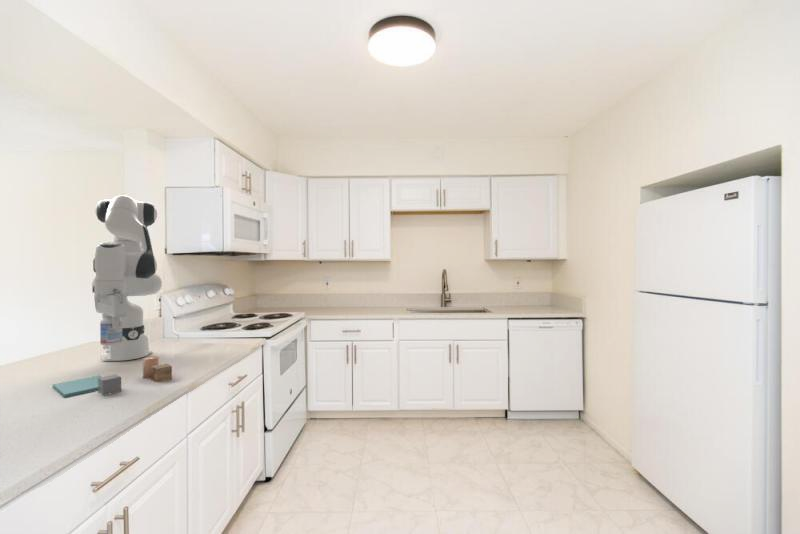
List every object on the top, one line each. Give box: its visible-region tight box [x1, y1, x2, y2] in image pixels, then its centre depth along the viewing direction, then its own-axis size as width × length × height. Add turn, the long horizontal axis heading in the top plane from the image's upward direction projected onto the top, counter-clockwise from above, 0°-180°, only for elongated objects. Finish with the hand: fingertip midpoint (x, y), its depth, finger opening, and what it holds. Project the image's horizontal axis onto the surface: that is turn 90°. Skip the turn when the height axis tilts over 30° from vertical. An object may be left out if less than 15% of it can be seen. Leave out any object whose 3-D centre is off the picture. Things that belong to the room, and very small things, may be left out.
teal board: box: [52, 374, 103, 398], centre depth 128 cm, size 16×13×1 cm
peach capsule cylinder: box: [142, 356, 160, 379], centre depth 140 cm, size 5×5×7 cm
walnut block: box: [150, 363, 173, 383], centre depth 137 cm, size 5×5×5 cm
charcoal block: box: [97, 373, 122, 396], centre depth 123 cm, size 5×5×5 cm
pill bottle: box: [99, 313, 122, 346], centre depth 129 cm, size 6×6×11 cm
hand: (111, 327), depth 129 cm, fingers closed on pill bottle, 6 cm apart
